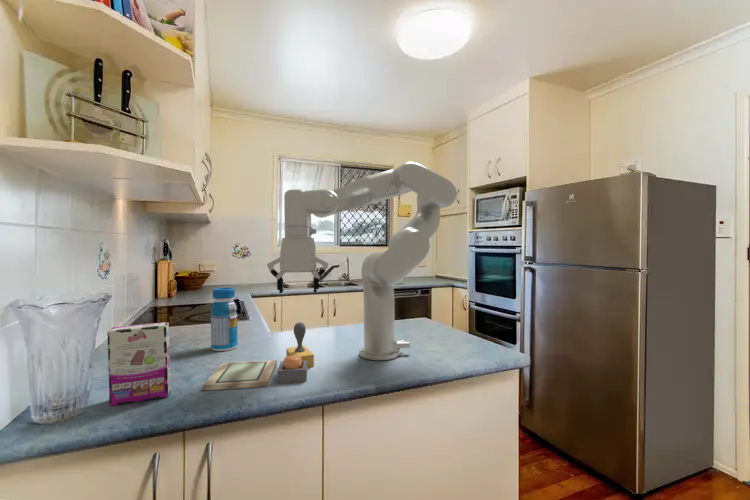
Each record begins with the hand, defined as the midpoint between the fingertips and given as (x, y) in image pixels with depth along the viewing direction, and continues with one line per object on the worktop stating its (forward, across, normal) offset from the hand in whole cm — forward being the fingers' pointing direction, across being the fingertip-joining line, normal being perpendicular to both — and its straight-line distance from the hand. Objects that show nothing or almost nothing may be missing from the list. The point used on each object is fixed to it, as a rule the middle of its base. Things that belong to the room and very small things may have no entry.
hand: (298, 292), depth 103 cm
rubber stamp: (+21, 0, 0) cm, 21 cm away
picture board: (+21, +14, +8) cm, 26 cm away
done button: (+19, +1, +11) cm, 22 cm away
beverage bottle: (+21, +26, -20) cm, 39 cm away
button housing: (+21, +1, +11) cm, 23 cm away
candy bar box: (+21, +34, +18) cm, 44 cm away
